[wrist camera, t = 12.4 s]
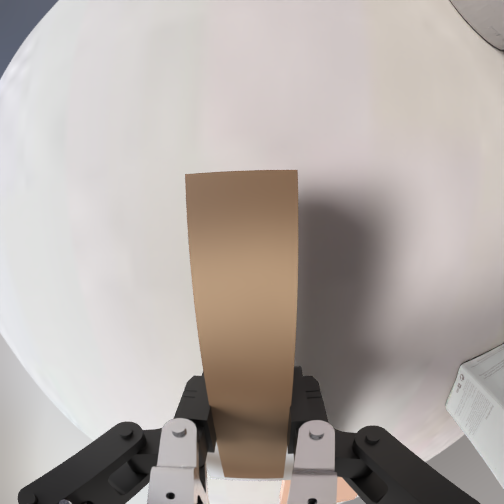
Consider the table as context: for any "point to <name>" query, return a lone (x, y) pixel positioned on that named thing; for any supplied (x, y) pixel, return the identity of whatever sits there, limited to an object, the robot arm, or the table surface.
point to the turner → (246, 314)
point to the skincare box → (482, 407)
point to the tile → (342, 491)
